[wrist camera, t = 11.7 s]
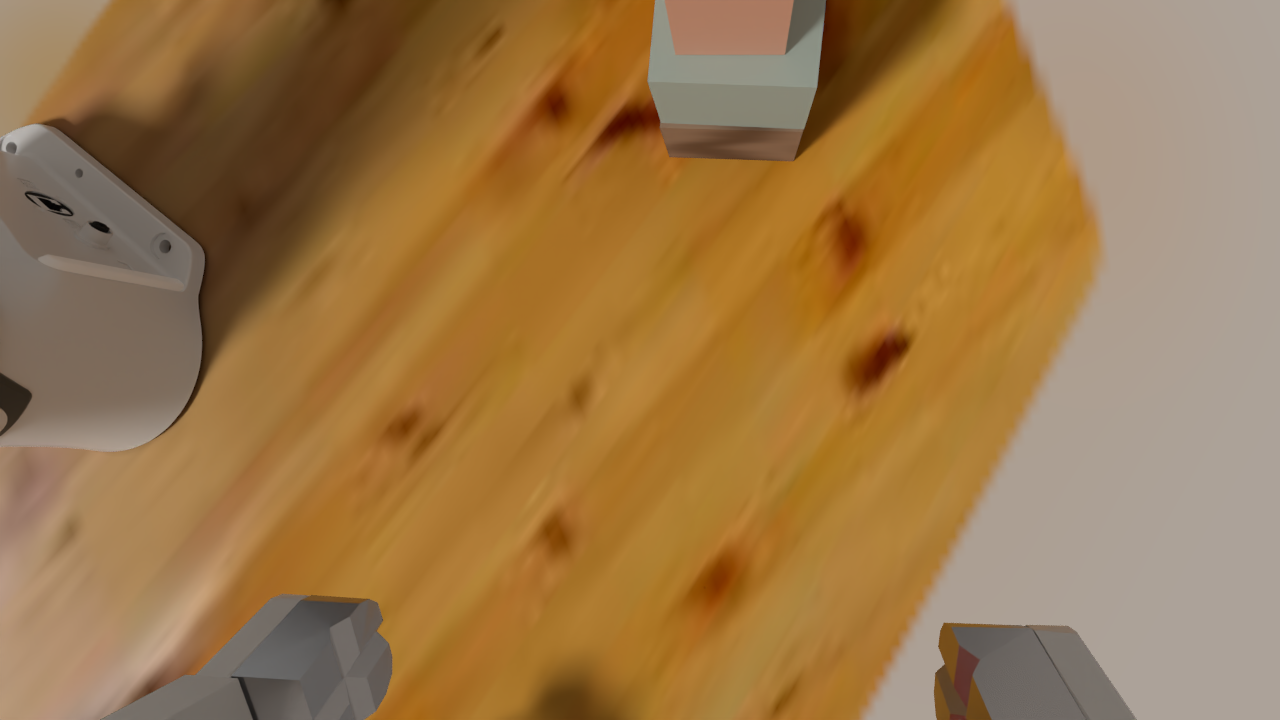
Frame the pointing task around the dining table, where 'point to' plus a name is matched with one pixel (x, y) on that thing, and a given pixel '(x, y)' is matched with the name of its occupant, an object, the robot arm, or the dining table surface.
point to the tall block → (729, 26)
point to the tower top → (739, 77)
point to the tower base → (730, 142)
